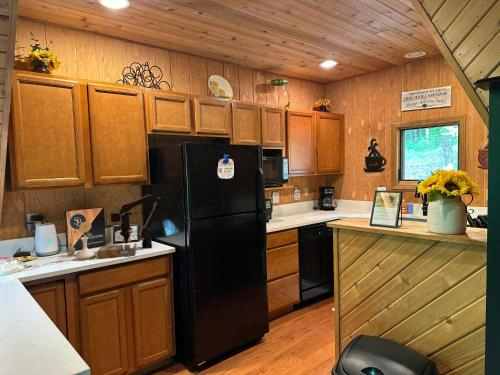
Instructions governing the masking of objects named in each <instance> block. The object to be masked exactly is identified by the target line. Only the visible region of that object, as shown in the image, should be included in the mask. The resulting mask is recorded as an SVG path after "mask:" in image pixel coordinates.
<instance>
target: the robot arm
mask: <svg viewBox="0 0 500 375" xmlns="http://www.w3.org/2000/svg"><path fill="white" fill-rule="evenodd" d="M149 201H151V202H154V205H153V209H152V211H151V212H150V214H149V217H148V219H147V221H146V222H145V224H144V226H142V225H141V226H140V229H139V230H138V231H139V233H138V234H139V236H140V237H141V238H142V241H141V248H142V249H152V248H153V244H152V243H153V242H152V239H153V237H152V236H151V235H150V232H151V227H152V225H153V224H154V221H155V219H156V217H157V215H158V213H159V211H160V210H161V209H162V208H163V207H164V205H165V202H166V200H165V198H162V197H161V196H160V197H156V196H154V195H152V194H147V195H145V196H143V197H141V198H138V199H136V200H133V201H130V202H125V203H123V204H121V206H120V208H119V211H118V212H110V216H109V220H110V221H109V222H110V223H119V222H120V221H121V223H120V225H115V226H113V231H114V233H117V232H119V231H120V233H119V236H121V237H123V238H124V241H125V242H124V243H125V244H124V245H128V243H129V242H128V239H129V238H131V235H132V231H133V228H132V226H131V216H132V215H133V213H132V212H131V210H132V209H133V208H135V207H138V206H140V205H143V204H144V203H146V202H149Z"/></svg>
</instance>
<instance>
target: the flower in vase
mask: <svg viewBox="0 0 500 375" xmlns="http://www.w3.org/2000/svg"><path fill="white" fill-rule="evenodd" d="M91 228H92V223H91V221H90V222H89V221H87V220H86V221H83V222H81V224H80V225H79V226H78V229H79V232H80V235H83V237H80V238H79V239H80V240H81V242H82V249H81V250H80V251H79V253H78V254H77V253H76V256H75V258H76V259H78V260H86V259H87V260H88V259H92V258H93V257H95V255H96V254H95V253H94V252H93V251H91V250H90V249H89V248H88V245H87V244H88V243H87V242H88V239H89V237H92V236H93V234H92V233H91V232H89V231H90V230H91ZM85 233H86V234H85Z"/></svg>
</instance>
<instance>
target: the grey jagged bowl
mask: <svg viewBox="0 0 500 375" xmlns="http://www.w3.org/2000/svg"><path fill="white" fill-rule="evenodd" d="M137 246H138V245H137V242H135V243H134V245H133V246H132V248H130V249H127V250H124V249H123V250H121V257H124V256H136V253H137V248H138V247H137Z"/></svg>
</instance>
